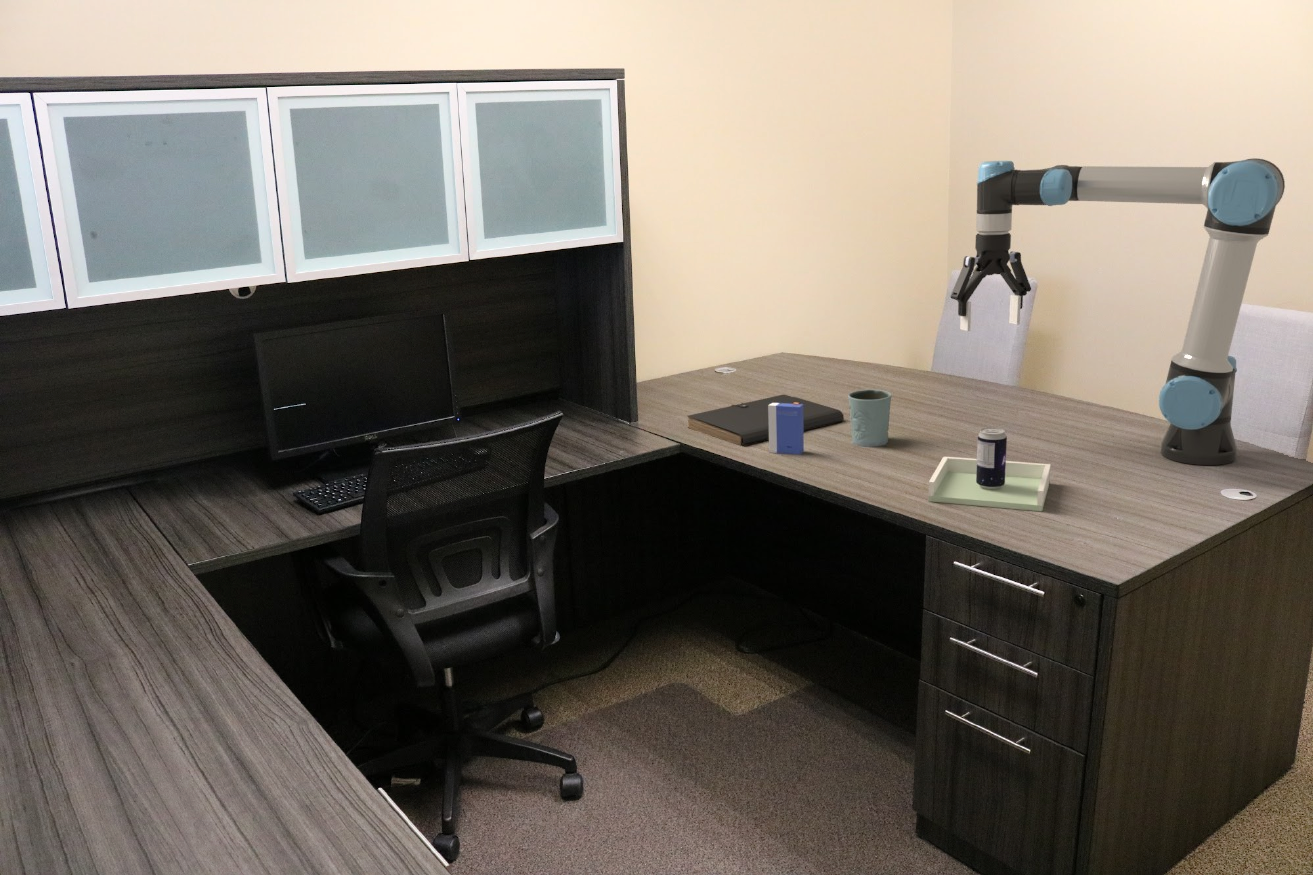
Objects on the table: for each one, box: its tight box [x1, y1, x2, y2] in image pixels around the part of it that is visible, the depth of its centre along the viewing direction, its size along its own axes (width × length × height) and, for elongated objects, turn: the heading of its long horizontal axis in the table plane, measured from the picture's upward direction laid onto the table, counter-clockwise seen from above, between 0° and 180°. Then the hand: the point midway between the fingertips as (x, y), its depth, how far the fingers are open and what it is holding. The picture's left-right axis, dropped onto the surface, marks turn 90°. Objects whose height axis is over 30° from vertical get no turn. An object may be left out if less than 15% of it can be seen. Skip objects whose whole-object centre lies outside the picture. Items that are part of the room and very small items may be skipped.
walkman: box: [768, 403, 805, 455], centre depth 258 cm, size 8×3×12 cm, turn 66°
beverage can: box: [976, 427, 1008, 490], centre depth 224 cm, size 6×6×12 cm
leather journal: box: [687, 393, 845, 447], centre depth 284 cm, size 33×4×24 cm
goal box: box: [927, 456, 1052, 512], centre depth 225 cm, size 22×18×4 cm
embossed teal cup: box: [847, 388, 892, 448], centre depth 263 cm, size 10×10×12 cm
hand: (989, 327), depth 248 cm, fingers open, 13 cm apart
